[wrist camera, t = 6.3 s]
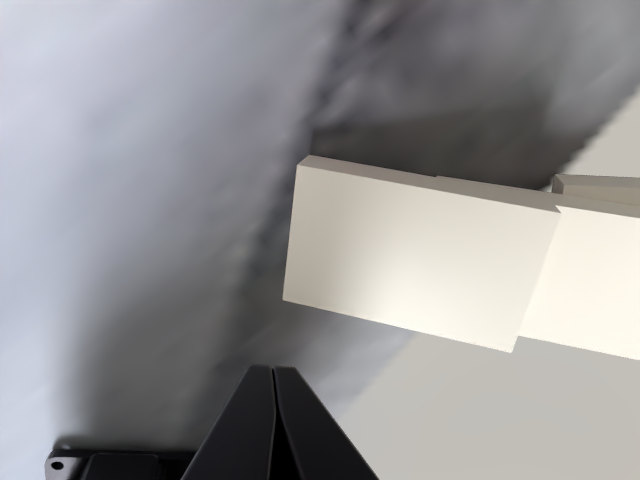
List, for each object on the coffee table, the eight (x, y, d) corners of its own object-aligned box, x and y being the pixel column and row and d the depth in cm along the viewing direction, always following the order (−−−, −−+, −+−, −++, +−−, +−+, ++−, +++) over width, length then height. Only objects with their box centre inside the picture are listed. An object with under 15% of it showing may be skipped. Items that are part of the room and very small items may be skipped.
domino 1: (294, 280, 18) (504, 327, 17) (282, 300, 17) (511, 352, 15) (309, 154, 16) (548, 197, 15) (297, 164, 15) (561, 213, 13)
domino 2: (413, 293, 19) (624, 335, 18) (410, 313, 18) (640, 360, 16) (436, 175, 17) (676, 211, 16) (436, 186, 16) (701, 227, 14)
